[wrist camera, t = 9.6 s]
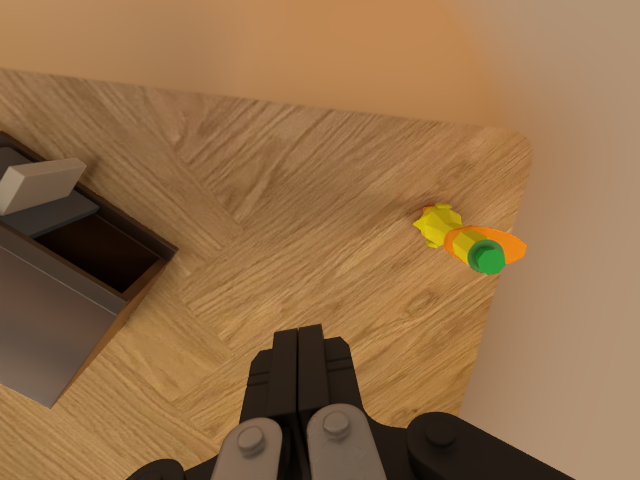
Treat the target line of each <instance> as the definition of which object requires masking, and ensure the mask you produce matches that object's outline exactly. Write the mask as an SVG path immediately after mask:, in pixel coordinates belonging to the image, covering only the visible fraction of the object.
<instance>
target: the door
mask: <svg viewBox="0 0 640 480" xmlns="http://www.w3.org/2000/svg"><path fill="white" fill-rule="evenodd" d="M86 167H87V165H86V164H84V163H83V162H81V161H80V160H78V159H77V158H67V159H60V160H53V161H45V162H38V163H33V162H31V161H30V160H28V159H27V158H25V157H24V156H22V155H21V154H19V153H18V152H16V151H15V150H13V149H12V148H10V147H2V148H0V220H2V221H3V222H5V223H7V224H8V225H10V226H12V227H13V228H15V229H16V230H18V231H20V232H21V233H23V234H25V235H26V236H28V237H30V238H31V239H34V238H36V237H39V236H41V235H43V234H46V233H48V232H50V231H53V230H55V229H58V228H60V227H62V226H65V225H67V224H69V223H72V222H74V221H77V220H79V219H81V218H84V217H86V216H88V215H91V214H93V213H96V212H97V210H98V209H99V206H98V205H96V204H95V203H93V202H92V201H90V200H89V199H87V198H86V197H84V196H83V195H81V194H80V193H78V192H77V191H75V190H74V189H73V188H74V186H75V184H76V183H77V181H78V180H79V178H80V176H81V175H82V173H83V172H84V170H85V168H86Z"/></svg>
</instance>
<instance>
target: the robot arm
mask: <svg viewBox="0 0 640 480" xmlns="http://www.w3.org/2000/svg"><path fill="white" fill-rule="evenodd" d="M126 480H575V479H573V478H571V477H569V476H568V475H566V474H564V473H562V472H560V471H558V470H556V469H555V468H553V467H551V466H549V465H547V464H545V463H543V462H541V461H539V460H538V459H536V458H534V457H532V456H530V455H528V454H526V453H524V452H522V451H521V450H519V449H517V448H515V447H513V446H511V445H509V444H507V443H505V442H503V441H502V440H500V439H498V438H496V437H494V436H492V435H490V434H488V433H486V432H485V431H483V430H481V429H479V428H477V427H475V426H473V425H471V424H470V423H468V422H466V421H464V420H462V419H460V418H458V417H456V416H454V415H451V414H448V413H444V412H428V413H424V414H422V415H419V416H418V417H416V418H415V419H413V420H412V421H411V422H410V424H409V425H408V427H407V428H397V427H390V426H386V425H382V424H380V423H378V422H376V421H374V420H373V419H372V418H371V417H369V416H368V414H367V413H366V412H365V410H364V408H363V405H362V401H361V397H360V392H359V388H358V383H357V379H356V375H355V370H354V366H353V361H352V357H351V353H350V348H349V345H348V344H347V343H346V342H345V341H344V340H343V339H342V338H341V337H334V338H329V339H324V335H323V330H322V325H321V324H316V325H311V326H305V327H299V331H298V329H297V328H294V329H289V330H283V331H278V332H275V333H274V339H273V347H272V349H268V350H262V351H260V352H259V353H258V354H257V356H256V357H255V358H254V360H253V361H252V362H251V367H250V371H249V377H248V381H247V388H246V391H245V396H244V401H243V406H242V411H241V416H240V421H239V425H238V426H236V427H235V428H234V429H233V430H232V431H231V432H229V434H228V435H227V436H226V438H225V439H224V441H223V443H222V446H221V449H220V452H219V454H218V455H216V456H215V457H213V458H211V459H209V460H208V461H206V462H203V463H201V464H199V465H197V466H195V467H193V468H190V469H188V470H186V471H184V470H183V467H182V466H181V464H180V463H179V462H178V461H176V460H173V459H160V460H156V461H153V462H151V463H148V464H147V465H145V466H143V467H141V468H140V469H138V470H137V471H136V472H134V473H133V474H132V475H131V476H130V477H128V478H127V479H126Z"/></svg>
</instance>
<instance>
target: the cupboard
mask: <svg viewBox="0 0 640 480" xmlns="http://www.w3.org/2000/svg"><path fill="white" fill-rule="evenodd" d="M2 147H10V148H12V149H13V150H15V151H16V152H18V153H19V154H21V155H22V156H24V157H25V158H27V159H28V160H30V161H31V162H33V163H38V162H45V161H46V160H45V159H43V158H42V157H40V156H39V155H37V154H36V153H34V152H33V151H31V150H30V149H28V148H27V147H25V146H24V145H22V144H21V143H19V142H18V141H16V140H15V139H13V138H12V137H10V136H9V135H7V134H6V133H4V132H3V131H0V148H2ZM73 189H74V190H75V191H77V192H78V193H80V194H81V195H83V196H84V197H86V198H87V199H89V200H90V201H92V202H93V203H95V204H96V205H98V206H99V209H98V210H97V212H96V213H93V214H91V215H88V216H86V217H84V218H81V219H79V220H77V221H74V222H72V223H69V224H67V225H65V226H62V227H60V228H58V229H55V230H53V231H50V232H48V233H46V234H43V235H41V236H39V237H36V238H34V239H31V238H30V237H28V236H26V235H25V234H23V233H21V232H20V231H18V230H16V229H15V228H13V227H12V226H10V225H8V224H7V223H5V222H3V221H2V220H0V384H2V385H4V386H6V387H8V388H10V389H12V390H14V391H16V392H17V393H19V394H21V395H23V396H25V397H27V398H29V399H31V400H33V401H35V402H37V403H39V404H41V405H43V406H45V407H47V408H49V409H50V408H52V406H53V405H54V404H55V403H56V402H57V401H58V400H59V399H60V397H61V396H62V395H63V394H64V393H65V392H66V391H67V389H68V388H69V387H70V386H71V385H72V384H73V383H74V381H75V380H76V379H77V378H78V377H79V376H80V375H81V374H82V372H83V371H84V370H85V369H86V368H87V367H88V366H89V364H90V363H91V362H92V361H93V360H94V359H95V358H96V357H97V355H98V354H99V353H100V352H101V351H102V350H103V349H104V347H105V346H106V345H107V344H108V343H109V342H110V341H111V339H112V338H113V337H114V336H115V335H116V334H117V333H118V331H119V330H120V329H121V328H122V326H123V325H124V324H125V322H126V321H127V320H128V318H129V317H130V315H131V314H132V313H133V311H134V310H135V309H136V307H137V306H138V305H139V303H140V302H141V300H142V299H143V298H144V296H145V295H146V294H147V292H148V291H149V290H150V288H151V287H152V285H153V284H154V283H155V281H156V280H157V279H158V277H159V276H160V275H161V273H162V272H163V270H164V269H165V268H166V266H167V265H168V264H169V262H170V261H171V259H172V258H173V257H174V255H175V254H176V253H177V251H178V250H179V249H178V248H176V247H175V246H173V245H172V244H170V243H169V242H167V241H166V240H164V239H163V238H161V237H160V236H158V235H157V234H155V233H154V232H152V231H151V230H149V229H148V228H146V227H145V226H144V225H142V224H141V223H139V222H138V221H136V220H135V219H133V218H132V217H130V216H129V215H127V214H126V213H124V212H123V211H121V210H120V209H118V208H117V207H115V206H114V205H112V204H111V203H109V202H108V201H106V200H105V199H103V198H102V197H100V196H99V195H97V194H96V193H94V192H93V191H91V190H90V189H88V188H87V187H85V186H84V185H82V184H81V183H79V182H78V181H77V183H76V184H75V186H74V188H73Z"/></svg>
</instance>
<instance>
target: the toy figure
mask: <svg viewBox="0 0 640 480" xmlns="http://www.w3.org/2000/svg"><path fill="white" fill-rule="evenodd" d="M434 205H435V206H427V207H423V215H422V216H421V218H420V219H419V220H418V221H416V222H414V223H412V224H414V225H415V226H416V227H417V228H418V229H420V230H421V234H422V235H424V236H425V237H426V238H427V239H428V241H426V244H427V245H428V247H432V248H438V247H440V246H442V245H444V250H445V251H447V252H448V253H450V254H451V255H453V256H454V257H456V258H457V259H459V260H460V261H462V262H463V263H465V264H468V265H469V266H470V267H471V268H472V269H473V270H475V271H477V272H480V273H486V274H487V275H490V274H495V273H499V272H500V271H501V269H502V268H503V267H504V266H505V264H507V263H512V262H514V261H516V260H519V259H520V258H523V257H524V254H525V251H526V248H527V245H526V244H525V243H523V242H522V241H521V240H520V239H519V238H517V237H515V236H513V235H511V234H509V233H506V232H502V231H498V230H495V229H491V228H486V227H479V226H472V225H470V226H464V225H462V222H461V216H460V215H459V214H457V213H455V212H454V211H452V210H451V209H450V208H452V206H451V205H449V204H444V203H439V202H437V203H435V204H434Z"/></svg>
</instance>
